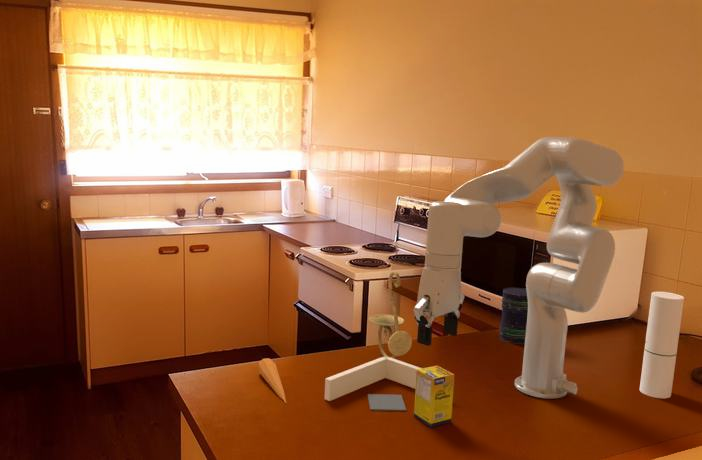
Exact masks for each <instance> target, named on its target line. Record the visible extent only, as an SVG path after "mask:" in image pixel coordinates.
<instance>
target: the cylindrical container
mask: <svg viewBox="0 0 702 460" xmlns="http://www.w3.org/2000/svg"><path fill="white" fill-rule="evenodd" d="M684 300H685V297H684V296H683V295H680V294H677V293H675V292H674V293H673V292H668V291H653V292H652V291H651V295H650V303H649V311H648V320H647V326H646V334H645V343H644V350H643V357H642V358H643V359H642V366H641V367H642V368H641V376H640V384H639V391H640V393H642V394H643V395H646V396H648V397H651V398H654V399H655V398H656V399H668V398H671V396H672V390H673V383H674V382H673V381H674V375H675V367H676V361H677V360H676V359H677V354H678V353H677V352H678V345H679V338H680V331H681V324H682V316H683V308H684Z"/></svg>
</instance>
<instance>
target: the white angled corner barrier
mask: <svg viewBox="0 0 702 460" xmlns="http://www.w3.org/2000/svg"><path fill="white" fill-rule="evenodd" d="M387 356H388V355H387ZM387 356H381V357H378V358H376V359H373V360H371V361H368V362H365V363H363V364H360V365H358V366H355V367H352V368H349V369H347V370H344V371H342V372H339V373H336V374H334V375H331V376H329V377H326V378H325V379H324V400H326V401H328V402H331V401H333V400H336V399H338V398H340V397H343V396H345V395H347V394H351V393H352V392H355V391H357V390H359V389H361V388H364V387H367V386H369V385H371V384H374V383H376V382H379V381H381V380H383V379H387V380H391V381H393V382H395V383H398V384H401V385H404V386H407V387H410V388H412V389H416V372H417V370H418V369H422V368H423V367H419V366H416V365H414V364H410V363H408V362H405V361H403V360H399V359H396V358H395V359H393V358H390V357H391V356H388V357H387Z"/></svg>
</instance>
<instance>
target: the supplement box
mask: <svg viewBox="0 0 702 460" xmlns="http://www.w3.org/2000/svg"><path fill="white" fill-rule="evenodd" d="M421 368H422V369H418V370H417V372H416V389H415V390H414V391H415V393H414V407H413V408H414V410H413V417H414V418H416V419H417V420H419V421H421V422H422V423H424V424H425V425H426V426H428V427H430V428H431V427H436V426H440V425H442V424H448V423H451V422H452V417H453V415H452V414H453V403H454V402H453V401H454V390H455V389H454V387H455V373H452V372H451V371H449V370H447V369H444V368H443V367H441V366H439V365H433V366H428V367H421Z"/></svg>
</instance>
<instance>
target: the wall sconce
mask: <svg viewBox="0 0 702 460" xmlns="http://www.w3.org/2000/svg"><path fill="white" fill-rule="evenodd" d="M394 276H395V277H396V281H394V282H393V279H394V278H393V277H394ZM387 282H388V283H387V284H388V285H387V286H388V292H389V298H390V301H391V307H392V313H393V314H375V315H372V316H369V318H368V319H369V322H371V323H372V324H374V325H377V326H379V327H378V331H377V343H378V347H379V351H380V353H381V355H382V357H384V356H387V357H390V358H393V359H396V358H397V357H400V356H401V357H402V356H404V355H406V354H407V353H408V352H409V351H410V350H411V347H412V343H413V341H412V337H411V335H410V334H409V333H408V332H407V331H404V330H400V327H399V326H400V325H403V324H404V323H405V319H404V318H402V317H400V316H399V315H398V312H397V306H396V305H397V304H396V302H395V301H396V300H395V297H394V291H393V285H394V287H395V288H399V287H400V285H401V282H402V281H401V277H400V273H398V272H397V271H395V270H393V271H391V272H390V274H389V276H388V281H387ZM392 283H393V284H392ZM392 327H394V330H395V331H394V333H393V330H392ZM383 328H384V330H383ZM382 330H383V331H382ZM382 332H383V335H384V336H385V337H387V335H388V336H389V338H385V339H384V340H385V342H386V343H387V347H388V351H389V353H390V354H392V355H391V356H389V355H388V354H387V353H386V352H385V350H384V347H383V343H382Z"/></svg>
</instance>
